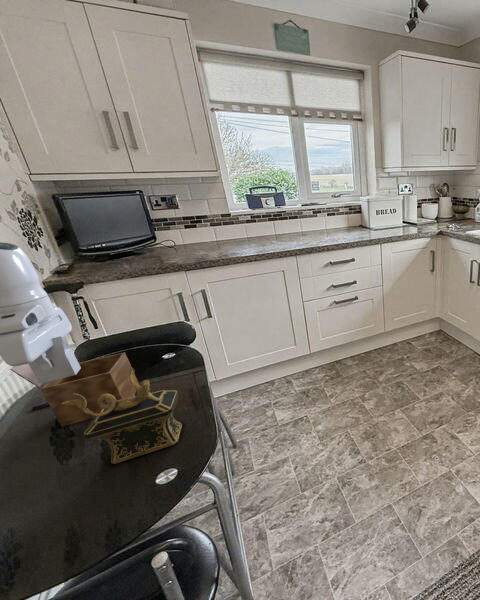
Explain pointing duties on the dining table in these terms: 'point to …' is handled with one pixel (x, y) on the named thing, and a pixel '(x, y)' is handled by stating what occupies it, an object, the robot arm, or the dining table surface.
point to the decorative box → (134, 421)
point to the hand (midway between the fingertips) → (54, 363)
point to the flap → (26, 374)
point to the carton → (90, 387)
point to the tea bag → (57, 362)
